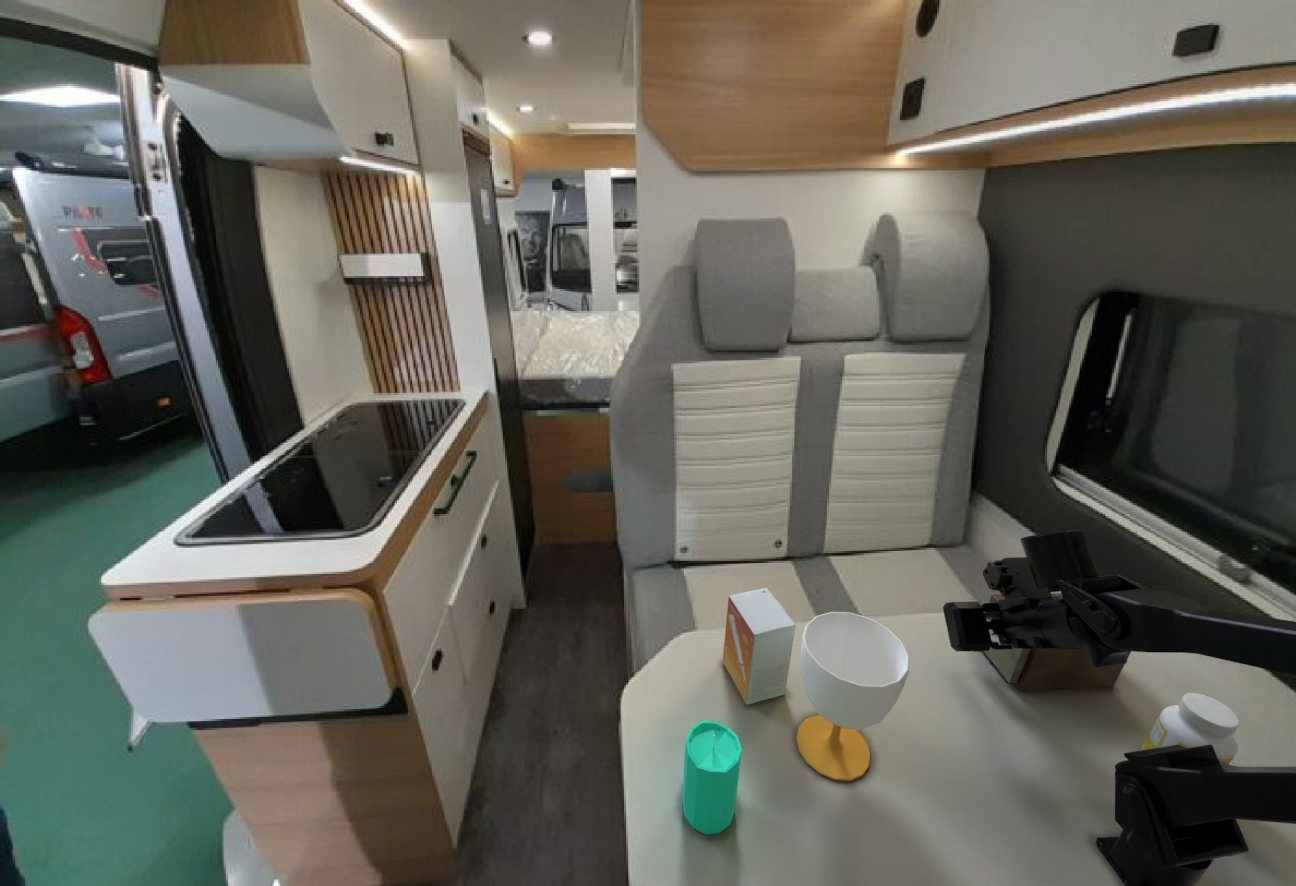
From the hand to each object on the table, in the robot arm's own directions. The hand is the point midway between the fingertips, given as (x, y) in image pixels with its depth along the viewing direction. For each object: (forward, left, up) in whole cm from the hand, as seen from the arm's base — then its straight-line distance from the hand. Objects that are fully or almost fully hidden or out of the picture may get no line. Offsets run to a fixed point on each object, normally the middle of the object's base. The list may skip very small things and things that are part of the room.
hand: (980, 627), depth 79 cm
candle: (-43, -21, -7) cm, 48 cm away
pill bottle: (+14, -19, -7) cm, 24 cm away
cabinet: (+11, 0, -7) cm, 13 cm away
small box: (-34, -3, -7) cm, 35 cm away
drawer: (+6, 0, -6) cm, 9 cm away
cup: (-26, -14, -7) cm, 30 cm away
